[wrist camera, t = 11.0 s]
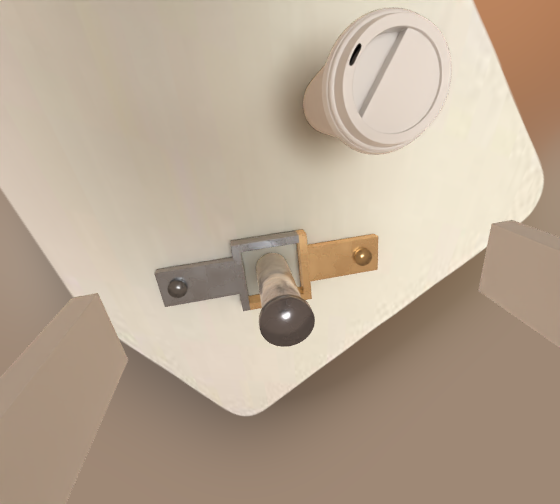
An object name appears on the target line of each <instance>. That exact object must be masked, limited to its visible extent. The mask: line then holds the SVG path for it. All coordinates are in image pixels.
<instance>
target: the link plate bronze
mask: <svg viewBox="0 0 560 504" xmlns="http://www.w3.org/2000/svg"><path fill="white" fill-rule="evenodd" d="M295 231H296V232H297V234H298V235H299V243H297V251H298V262H299V272H300V282H301V287H297V288H298V291H299V293H300V296H301V298H303V299H304V300H307V299H312V297H311V284H310V281H315V280H321V279H327V278H332V277H338V276H344V275H349V274H355V273H361V272H366V271H372V270H377V268H378V236H376V235H375V234H370V235H364V236H358V237H352V238H346V239H340V240H334V241H327V242H321V243H315V244H309V245H307V236H306V233H305V232H304V230H303V229H302V230H295ZM249 304H250V310H252V309H258V308H262V305H261V299H260V294H258V295H252V296H249Z"/></svg>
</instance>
